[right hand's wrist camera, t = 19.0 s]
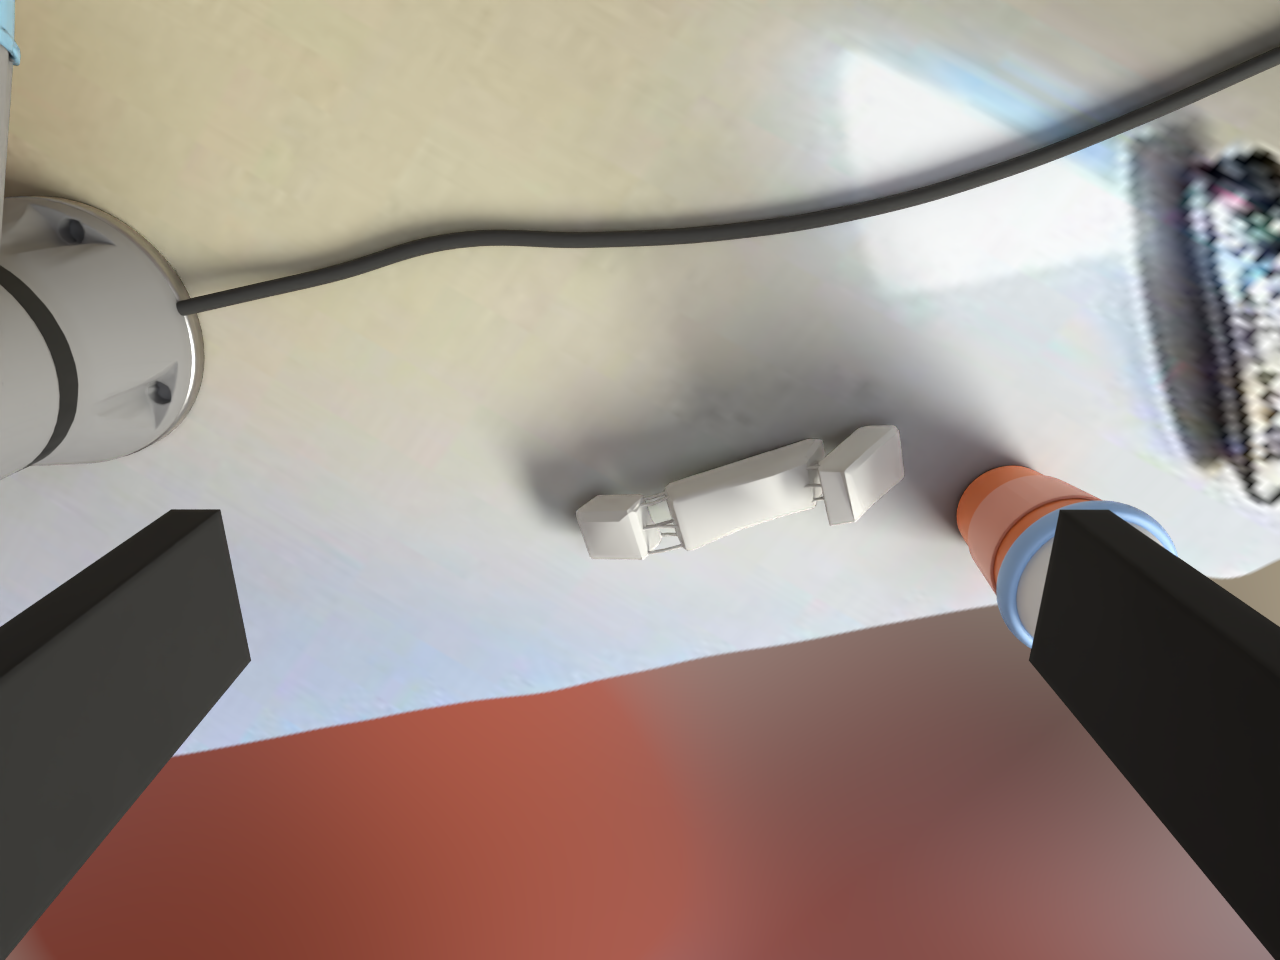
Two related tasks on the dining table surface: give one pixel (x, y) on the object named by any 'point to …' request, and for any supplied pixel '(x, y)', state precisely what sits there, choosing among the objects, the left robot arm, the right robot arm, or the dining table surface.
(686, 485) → the clamp
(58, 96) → the dining table surface
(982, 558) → the cup with straw
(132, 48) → the dining table surface
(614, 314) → the dining table surface
